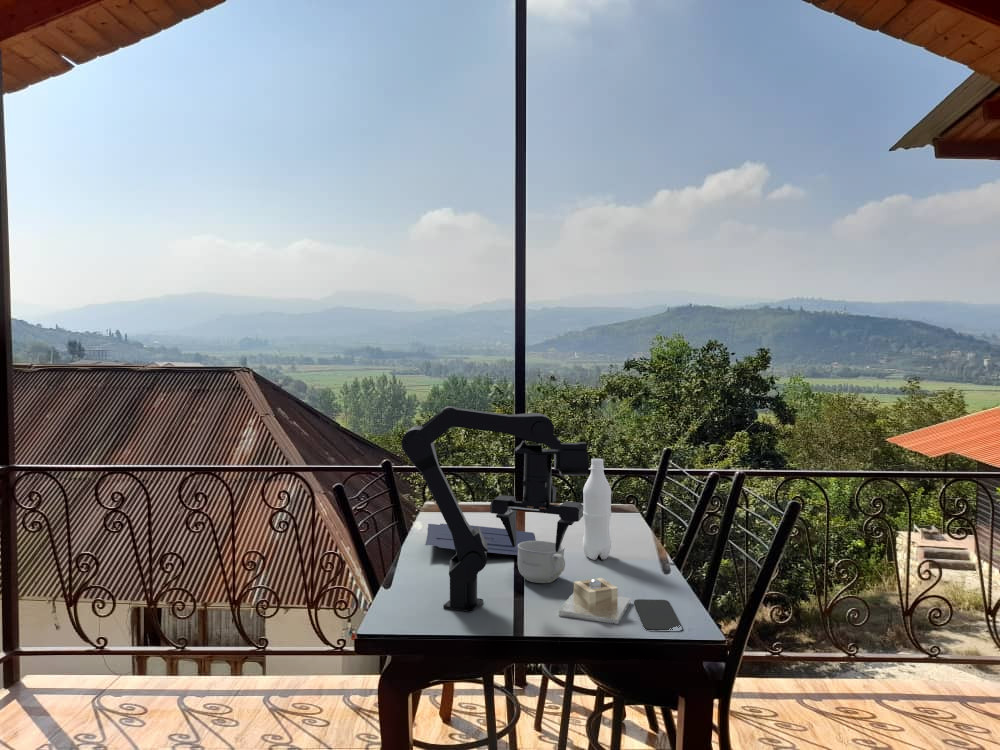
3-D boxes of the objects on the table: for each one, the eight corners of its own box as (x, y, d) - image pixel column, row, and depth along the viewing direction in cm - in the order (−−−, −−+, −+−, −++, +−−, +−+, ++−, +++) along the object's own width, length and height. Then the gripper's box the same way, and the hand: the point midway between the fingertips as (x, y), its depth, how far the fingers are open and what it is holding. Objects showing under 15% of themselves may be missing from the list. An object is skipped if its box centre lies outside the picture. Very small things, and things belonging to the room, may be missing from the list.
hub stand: (618, 624, 136) (618, 592, 136) (558, 615, 141) (558, 585, 140) (630, 602, 147) (630, 573, 147) (574, 595, 152) (574, 566, 151)
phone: (644, 629, 133) (632, 599, 148) (644, 633, 133) (632, 603, 148) (684, 629, 133) (668, 599, 148) (684, 634, 133) (668, 603, 148)
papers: (427, 531, 199) (428, 518, 198) (532, 541, 201) (533, 529, 201) (423, 557, 174) (425, 543, 174) (543, 569, 176) (544, 555, 176)
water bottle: (610, 562, 174) (611, 462, 173) (581, 560, 176) (581, 461, 174) (611, 553, 181) (612, 457, 180) (583, 552, 183) (584, 456, 182)
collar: (617, 607, 142) (617, 587, 142) (589, 612, 140) (589, 592, 140) (600, 596, 148) (600, 577, 148) (573, 600, 146) (573, 581, 146)
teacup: (510, 574, 165) (510, 541, 165) (552, 569, 169) (552, 536, 169) (534, 594, 152) (534, 558, 152) (578, 588, 156) (579, 553, 156)
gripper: (589, 471, 150) (587, 543, 151) (506, 464, 156) (504, 534, 157) (579, 481, 140) (576, 558, 140) (490, 473, 145) (488, 547, 146)
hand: (535, 548), depth 146 cm, fingers open, 9 cm apart
